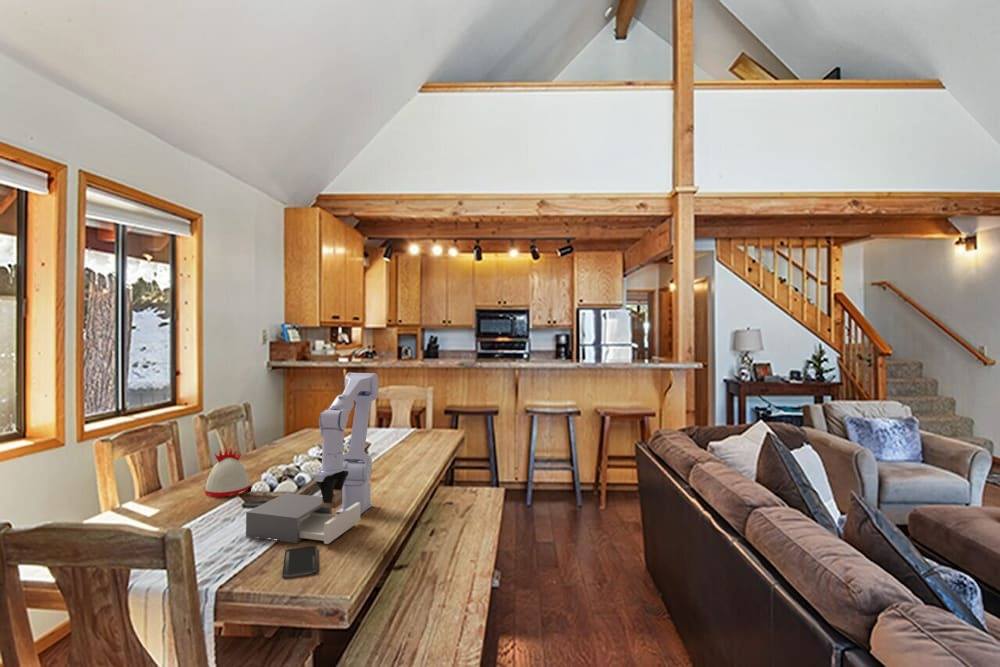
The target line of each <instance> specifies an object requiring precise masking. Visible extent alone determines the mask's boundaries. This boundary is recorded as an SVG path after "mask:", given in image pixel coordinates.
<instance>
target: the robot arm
mask: <svg viewBox="0 0 1000 667" xmlns="http://www.w3.org/2000/svg"><path fill="white" fill-rule="evenodd" d="M379 386H380V383H379V376H378V374H377V373H376V372H372V373H371V372H351V371H350V372H347V374H346V375H345V377H344V389H343V392H342V394H339V395H337V396H336V397H335V399H334V400H333V402H332V403H331V404H330V406H329V407H328V409H325V410H324V411H322V412H320V415H319V420H318V426H319V429H320V437H322V439H321V440H322V448H321V452H322V453H321V465H320V466H318V470H319V471H318V472H317V473H315V474H314V482H315V483H316V484H317V486H318V487H319V490H320V493H321V497H323V501H324V503H331V502H332V499H333V491H334V489H340V490H343V496H342V504H341V508H339V509H337V510H336V511H335V512H336V514H339V513H341V512H343V511H344V510H346V509H347V508H349V507H350V506H352V505H353V504H355V503H357V502H359V503H360V515H361V514H363V513H364V512H365V511H368V510H369V509H370V508H372V507H373V505H374V503H371V494H372V492H371V488H372V487H371V484H370V482H369V480H371V477H372V472H373V471H372V470H373V466H372V465H373V464H372V463H373V460H372V457H371V456H370V455H369V454H368V453H367V452H366V451H365V449H366V442H367V435H368V428H369V420H370V412H371V407H372V402H373V401H376V400H377V397H378V394H379V393H378V391H379ZM354 405H355V409H354V414H353V415H354V416H353V419H352V421H353V422H352V427H351V428H352V429H351V434H350V435H351V436H350V442H349V449H348V450H347V452H345V453H344V444H345V443H344V436H345V434H344V433H345V432H344V431H345V430H346V428H347V425H348V421H349V414H350V413H351V411H352V410H353V408H354Z"/></svg>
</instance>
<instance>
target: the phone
mask: <svg viewBox="0 0 1000 667" xmlns="http://www.w3.org/2000/svg"><path fill="white" fill-rule="evenodd" d="M318 555H319V554H318V546H317V545H311V546H303V547H294V548H288V549H285V552H284V557H283V558H284V559H283V566H282V575H281V576H282V579H286V580H288V579H294V578H300V577H301V578H302V577H308V576H314V575H316V574H318V570H319V563H318Z"/></svg>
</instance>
